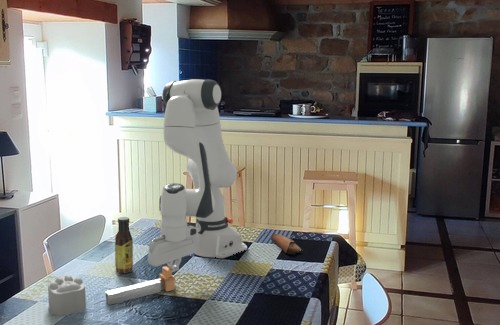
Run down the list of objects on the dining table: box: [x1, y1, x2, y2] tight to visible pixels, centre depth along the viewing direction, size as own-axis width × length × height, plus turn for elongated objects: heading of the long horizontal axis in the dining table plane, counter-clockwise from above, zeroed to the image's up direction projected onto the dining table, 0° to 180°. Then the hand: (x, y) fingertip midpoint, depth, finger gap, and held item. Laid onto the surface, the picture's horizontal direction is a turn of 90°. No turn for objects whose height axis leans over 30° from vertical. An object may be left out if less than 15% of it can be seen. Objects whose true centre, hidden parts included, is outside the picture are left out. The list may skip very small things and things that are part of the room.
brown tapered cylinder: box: [270, 233, 302, 254], centre depth 226 cm, size 18×7×7 cm
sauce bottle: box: [114, 216, 134, 274], centre depth 195 cm, size 7×6×20 cm
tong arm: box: [107, 281, 162, 306], centre depth 176 cm, size 18×1×4 cm, turn 126°
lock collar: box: [158, 265, 176, 292], centre depth 183 cm, size 3×5×7 cm, turn 36°
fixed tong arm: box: [105, 274, 176, 305], centre depth 178 cm, size 24×1×4 cm, turn 126°
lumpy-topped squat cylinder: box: [47, 274, 87, 317], centre depth 169 cm, size 10×13×9 cm
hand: (173, 271), depth 184 cm, fingers closed
